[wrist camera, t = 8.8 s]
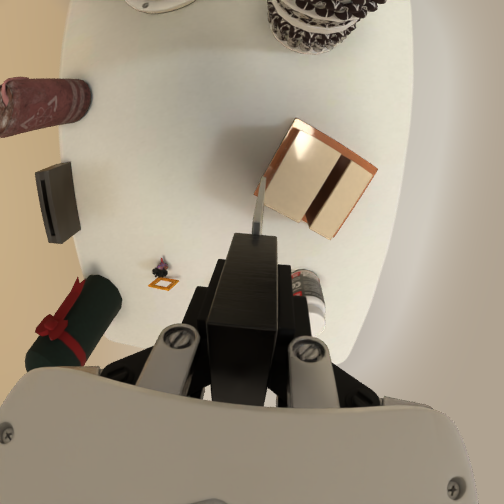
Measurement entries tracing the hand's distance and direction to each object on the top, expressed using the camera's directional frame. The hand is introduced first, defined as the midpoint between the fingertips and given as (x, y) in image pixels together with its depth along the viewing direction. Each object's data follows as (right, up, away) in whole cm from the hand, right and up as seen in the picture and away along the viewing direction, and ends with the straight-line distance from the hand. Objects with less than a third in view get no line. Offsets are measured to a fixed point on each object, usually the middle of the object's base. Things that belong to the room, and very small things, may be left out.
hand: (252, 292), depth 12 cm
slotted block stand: (+7, +10, +18) cm, 22 cm away
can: (-23, +22, +15) cm, 35 cm away
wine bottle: (-25, -4, +29) cm, 38 cm away
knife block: (-27, +10, +21) cm, 36 cm away
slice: (+9, +9, +18) cm, 22 cm away
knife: (0, +3, +7) cm, 8 cm away
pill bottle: (+7, -3, +25) cm, 26 cm away
